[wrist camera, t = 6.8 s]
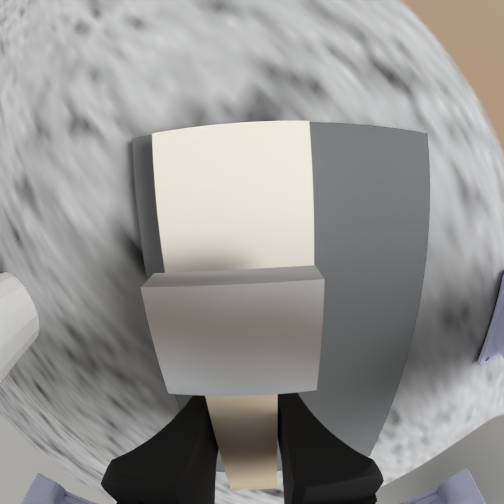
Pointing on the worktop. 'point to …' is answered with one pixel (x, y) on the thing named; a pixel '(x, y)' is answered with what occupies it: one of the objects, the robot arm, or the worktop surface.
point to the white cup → (15, 322)
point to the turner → (239, 352)
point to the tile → (235, 196)
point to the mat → (347, 266)
